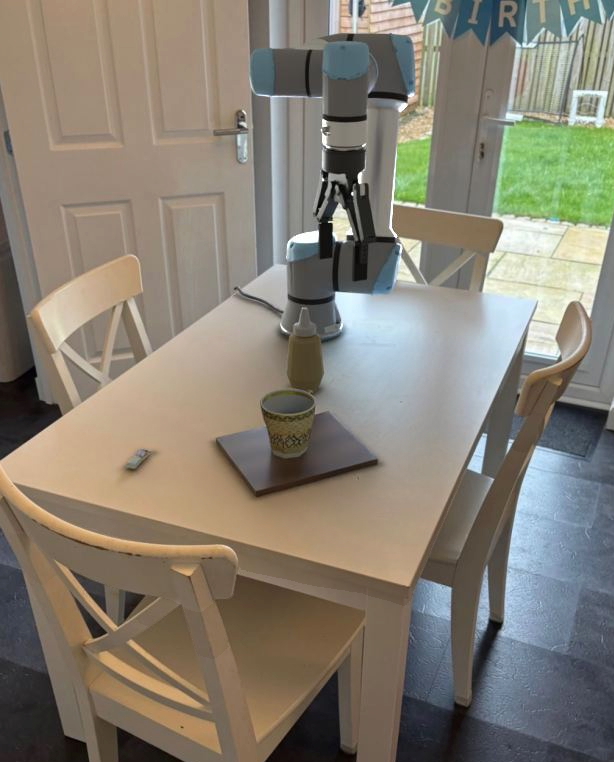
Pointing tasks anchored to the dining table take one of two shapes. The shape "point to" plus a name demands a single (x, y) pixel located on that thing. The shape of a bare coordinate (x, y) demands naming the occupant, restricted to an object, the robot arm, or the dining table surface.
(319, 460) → the serving board
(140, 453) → the granola bar
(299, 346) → the squeeze bottle
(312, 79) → the robot arm
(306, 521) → the dining table surface
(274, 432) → the ceramic cup
